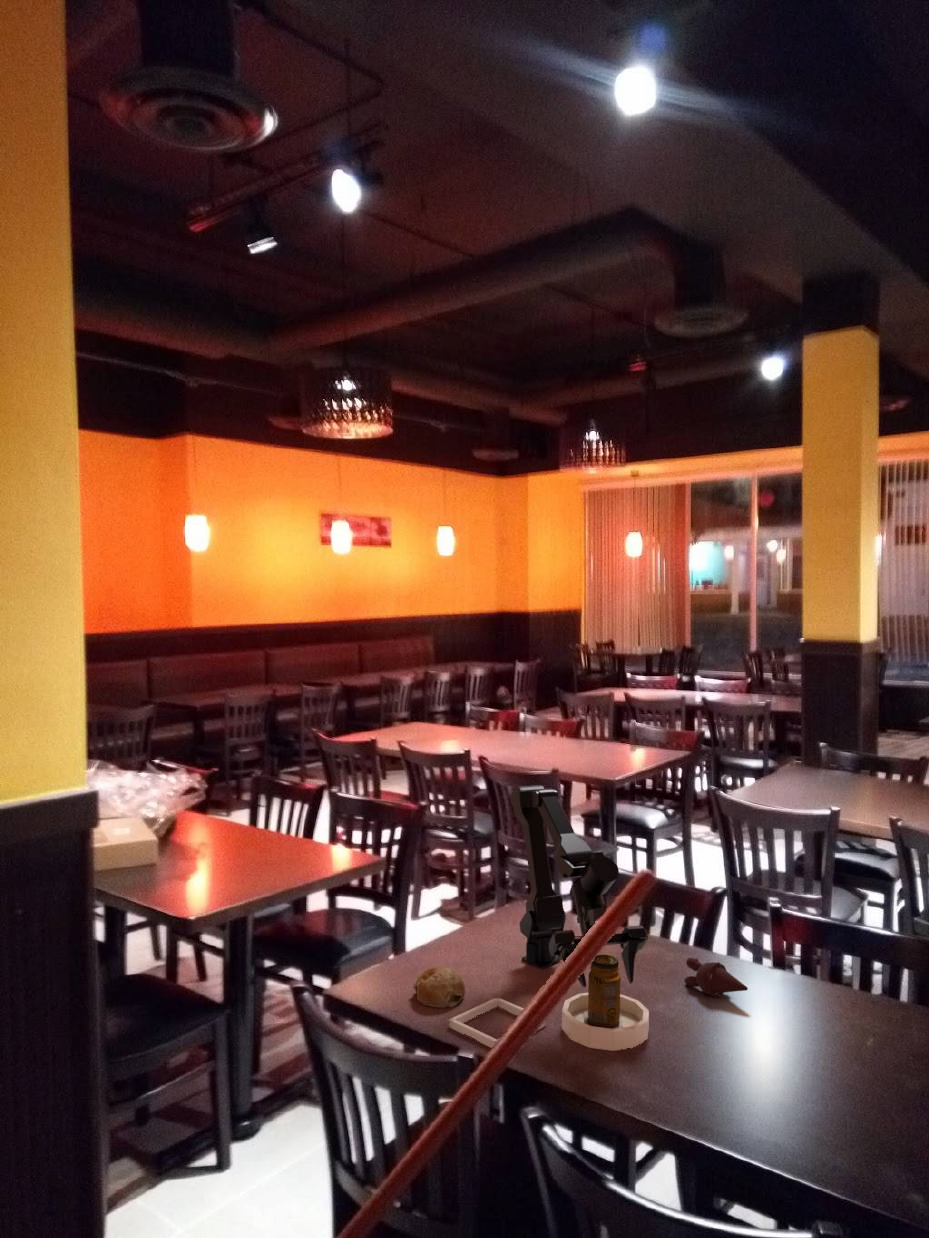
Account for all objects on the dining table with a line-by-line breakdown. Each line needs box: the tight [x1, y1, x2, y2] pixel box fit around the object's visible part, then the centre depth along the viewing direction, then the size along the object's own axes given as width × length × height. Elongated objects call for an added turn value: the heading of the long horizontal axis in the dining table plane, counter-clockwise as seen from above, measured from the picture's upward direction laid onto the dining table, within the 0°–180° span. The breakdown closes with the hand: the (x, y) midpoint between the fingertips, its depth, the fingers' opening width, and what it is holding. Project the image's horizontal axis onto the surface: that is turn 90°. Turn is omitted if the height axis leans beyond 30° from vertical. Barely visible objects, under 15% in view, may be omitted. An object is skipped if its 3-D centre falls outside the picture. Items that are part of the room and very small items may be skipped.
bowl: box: [561, 992, 650, 1052], centre depth 170 cm, size 16×16×4 cm
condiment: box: [584, 954, 623, 1029], centre depth 170 cm, size 7×8×12 cm
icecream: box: [684, 957, 749, 998], centre depth 185 cm, size 7×7×15 cm
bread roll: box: [412, 966, 466, 1009], centre depth 182 cm, size 10×10×8 cm
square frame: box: [448, 996, 547, 1049], centre depth 170 cm, size 14×13×2 cm
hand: (608, 984), depth 168 cm, fingers open, 9 cm apart
